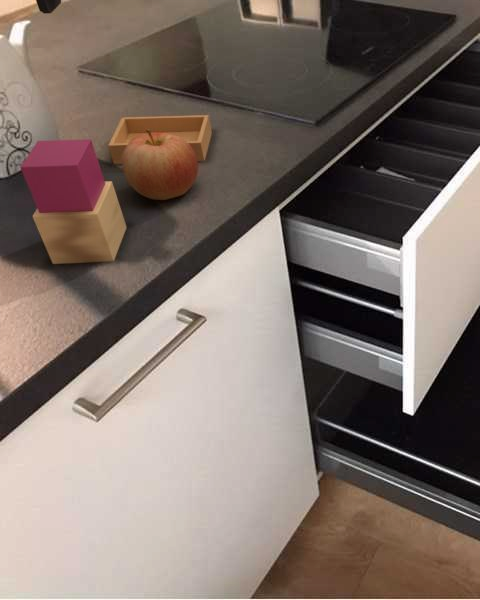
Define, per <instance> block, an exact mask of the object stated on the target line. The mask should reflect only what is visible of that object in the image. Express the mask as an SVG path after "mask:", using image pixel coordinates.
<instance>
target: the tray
mask: <svg viewBox="0 0 480 600" xmlns="http://www.w3.org/2000/svg"><path fill="white" fill-rule="evenodd" d="M147 129H150V132H151V133H153V132H162V133H170V134H173V135H176V136H179V137H181V138H182V139H184V140H185V141H186V142H188V143H189V145H190V146H191V147H192V149H193V150H194V152H195V154H196V157H197V161H198V162H205V161H206V157H207V153H208V149H209V146H210V142H211V138H212V134H213V131H212V127H211V121H210V116H209V114H199V115H196V114H195V115H165V116H164V115H163V116H126V117H121V119H120V121H119V123H118V125H117V127H116V129H115V131H114V133H113V135H112V137H111V139H110V141H109V143H108V145H107V147H108V149H109V152H110V156H111V158H112V162H113V165H122V154H123V151H124V149H125V147H126V146H127V145H128V143H129V142H130V141H131V140H132V139H133V138H134V137H136V136H138V135H142V134H146V133H147V131H146V130H147Z"/></svg>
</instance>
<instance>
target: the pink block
mask: <svg viewBox="0 0 480 600" xmlns="http://www.w3.org/2000/svg"><path fill="white" fill-rule="evenodd" d="M20 170H21V173H22V175H23V177H24V179H25V182H26V185H27V187H28V189H29V192H30V193H31V196H32V199H33V201H34V204H35V205H36V209H37V208H38V211H39V213H51V212H77V211H93V210H94V208H95V205H96V203H97V201H98V199H99V197H100V195H101V192H102V190H103V188H104V186H105V178H104V174H103V172H102V169H101V166H100V163H99V159H98V156H97V153H96V150H95V147H94V144H93V141H92V139H90V138H89V139H88V138H87V139H58V140H57V139H56V140H53V139H52V140H37V141H36V142H35V145H34V146H33V147H32V149H31V150H30V152H29V153H28V155H27V156H26V158H25V159H24V161H23V162H22V164H21V165H20Z"/></svg>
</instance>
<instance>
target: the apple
mask: <svg viewBox="0 0 480 600" xmlns="http://www.w3.org/2000/svg"><path fill="white" fill-rule="evenodd" d="M146 131H147V133H146V134H142V135H138V136H136V137H134V138H133V139H132V140H131V141H130V142H129V143H128V145H127V146H126V147H125V149H124V151H123V154H122V164H121V167H122V172H123V174H124V177H125V179H126V181H127V182H128V183H129V185H130V186H131V187H132V188H133V190H134V191H135V192H136V193H138V194H140V195H141V196H142V197H145V198H148V199H150V200H155V201H156V200H158V201H166V200H169V199H174V198H177V197H180V196H183V195H185V194H186V193H187V192H188V191H189V190H190V189H192V188H191V187H192V186H193V185H194V183H195V181H196V180H197V178H198V177H197V176H198V173H199V161H197V157H196V154H195V152H194V150H193V149H192V147H191V146H190V145H189V143H188V142H186V141H185V140H184V139H182V138H181V137H179V136H176V135H173V134H170V133H162V132H153V133H151V132H150V129H147V130H146Z"/></svg>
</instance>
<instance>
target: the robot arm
mask: <svg viewBox="0 0 480 600" xmlns="http://www.w3.org/2000/svg"><path fill="white" fill-rule="evenodd" d="M35 2H36V5H37V7H38V9H39V11H40V13H42V14H44V15H45V14H52V13H53V12H54V11H55V10H56V9H57V8H58V7H59V6H60V5H61V3H62V0H35Z"/></svg>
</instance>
